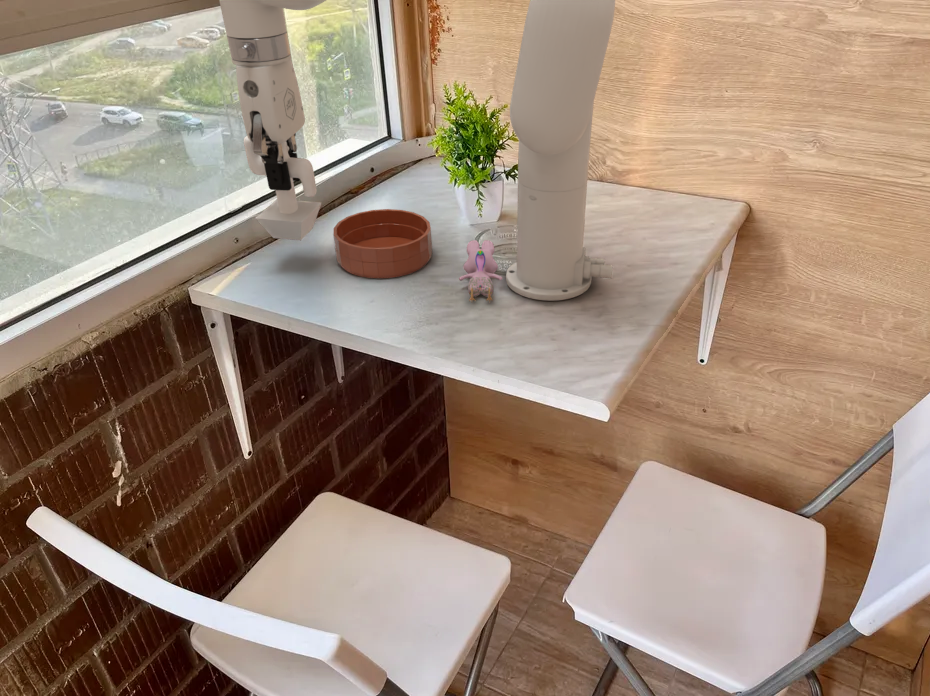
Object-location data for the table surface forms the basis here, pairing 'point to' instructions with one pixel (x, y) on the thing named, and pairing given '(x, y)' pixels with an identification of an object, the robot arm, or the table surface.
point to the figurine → (287, 197)
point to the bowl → (383, 243)
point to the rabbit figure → (480, 269)
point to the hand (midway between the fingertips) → (285, 183)
